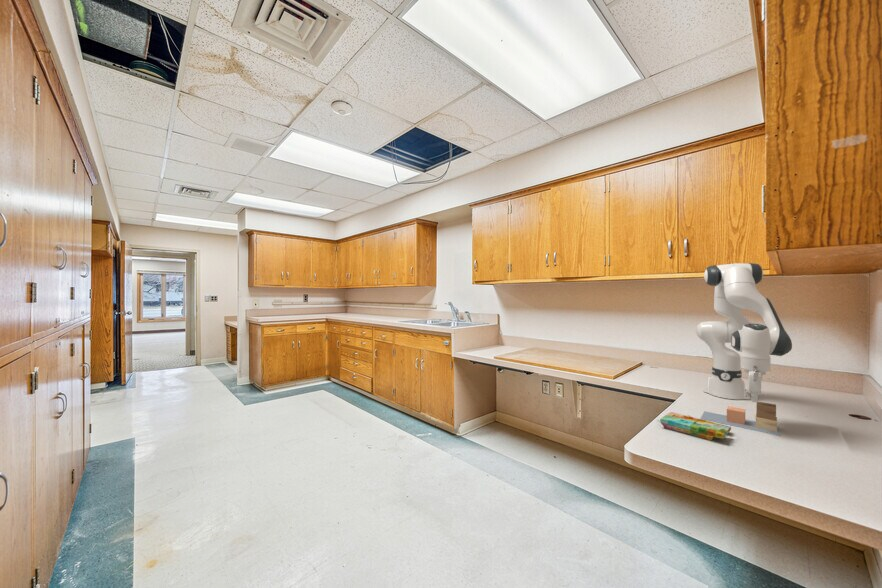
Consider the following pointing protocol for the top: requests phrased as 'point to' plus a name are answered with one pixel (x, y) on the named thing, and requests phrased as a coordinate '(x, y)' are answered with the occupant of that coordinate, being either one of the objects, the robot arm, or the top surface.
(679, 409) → the top surface
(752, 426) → the baseplate
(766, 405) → the walnut block
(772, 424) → the oak brick
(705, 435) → the puzzle game
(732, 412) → the terracotta block
